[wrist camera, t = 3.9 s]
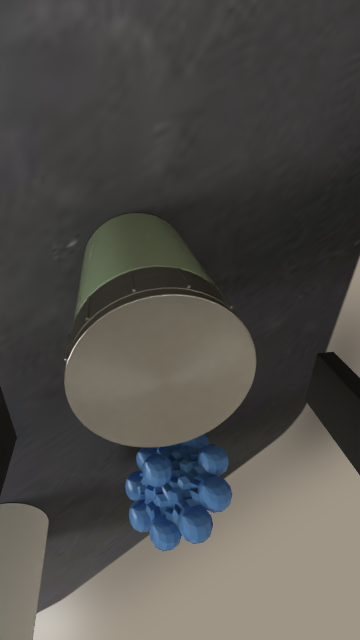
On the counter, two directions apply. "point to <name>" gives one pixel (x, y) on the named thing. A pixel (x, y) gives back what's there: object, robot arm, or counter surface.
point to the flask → (132, 251)
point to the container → (20, 568)
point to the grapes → (178, 491)
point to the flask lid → (157, 358)
